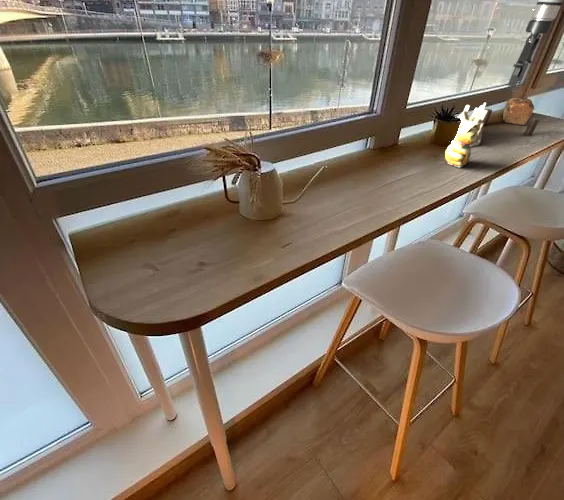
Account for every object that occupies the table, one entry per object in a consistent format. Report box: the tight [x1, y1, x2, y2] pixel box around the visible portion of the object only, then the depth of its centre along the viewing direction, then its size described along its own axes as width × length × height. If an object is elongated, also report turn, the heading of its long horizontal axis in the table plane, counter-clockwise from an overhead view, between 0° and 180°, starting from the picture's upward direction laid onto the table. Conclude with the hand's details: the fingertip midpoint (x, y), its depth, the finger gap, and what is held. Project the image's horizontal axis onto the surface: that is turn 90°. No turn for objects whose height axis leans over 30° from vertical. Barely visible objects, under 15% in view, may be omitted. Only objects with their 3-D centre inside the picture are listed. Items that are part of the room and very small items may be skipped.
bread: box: [502, 96, 535, 126], centre depth 161 cm, size 19×11×10 cm, turn 151°
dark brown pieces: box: [483, 108, 540, 137], centre depth 148 cm, size 22×3×7 cm, turn 51°
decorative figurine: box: [444, 121, 480, 169], centre depth 113 cm, size 10×8×15 cm
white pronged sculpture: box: [450, 102, 488, 148], centre depth 134 cm, size 16×16×15 cm
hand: (514, 83), depth 132 cm, fingers open, 13 cm apart
